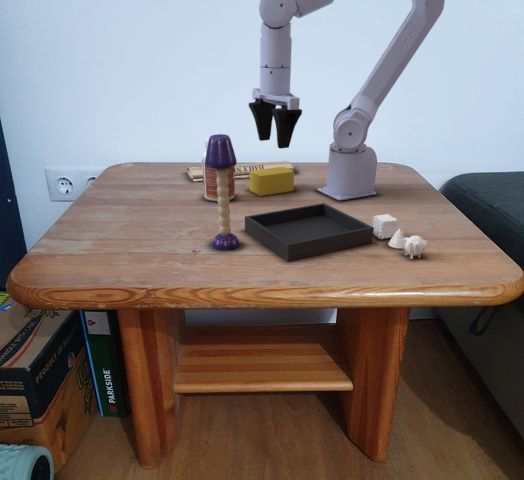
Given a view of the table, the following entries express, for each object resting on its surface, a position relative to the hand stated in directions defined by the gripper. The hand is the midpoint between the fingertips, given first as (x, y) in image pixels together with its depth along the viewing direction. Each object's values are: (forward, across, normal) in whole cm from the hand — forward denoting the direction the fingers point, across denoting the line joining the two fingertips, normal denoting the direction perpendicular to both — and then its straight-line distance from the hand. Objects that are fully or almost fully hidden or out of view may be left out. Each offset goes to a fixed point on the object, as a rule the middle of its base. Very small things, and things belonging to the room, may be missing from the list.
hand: (273, 143), depth 106 cm
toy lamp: (+10, +22, -22) cm, 33 cm away
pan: (+9, +26, -8) cm, 28 cm away
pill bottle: (+10, 0, -12) cm, 15 cm away
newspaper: (+10, -14, 0) cm, 17 cm away
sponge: (+9, 0, 0) cm, 9 cm away
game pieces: (+10, +36, +3) cm, 37 cm away
